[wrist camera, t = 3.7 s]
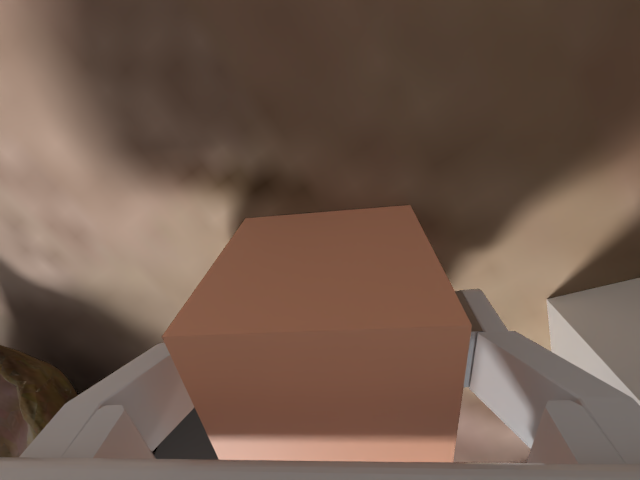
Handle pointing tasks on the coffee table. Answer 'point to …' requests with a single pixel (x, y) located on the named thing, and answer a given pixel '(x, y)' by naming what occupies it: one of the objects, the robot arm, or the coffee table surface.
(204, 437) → the black cube
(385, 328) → the terracotta cube
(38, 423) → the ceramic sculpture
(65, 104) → the coffee table surface
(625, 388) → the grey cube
